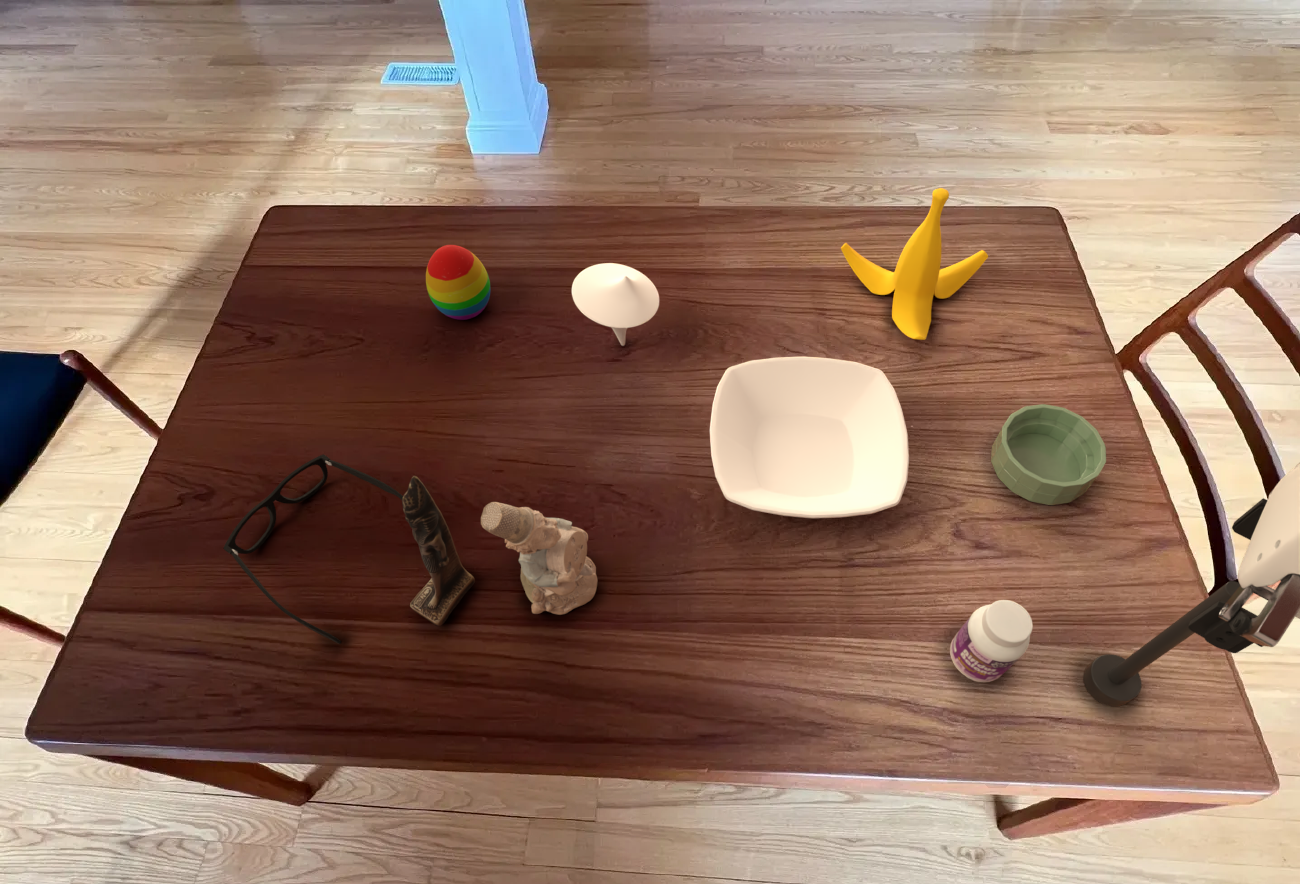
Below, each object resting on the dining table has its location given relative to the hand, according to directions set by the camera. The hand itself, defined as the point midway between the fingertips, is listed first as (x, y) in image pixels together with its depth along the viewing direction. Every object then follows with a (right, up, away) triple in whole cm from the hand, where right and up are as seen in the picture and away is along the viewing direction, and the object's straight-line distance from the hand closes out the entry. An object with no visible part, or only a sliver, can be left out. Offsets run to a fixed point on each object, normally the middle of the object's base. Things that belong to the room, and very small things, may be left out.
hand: (1232, 586), depth 57 cm
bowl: (-25, +9, +34) cm, 43 cm away
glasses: (-77, -2, +31) cm, 83 cm away
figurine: (-52, -5, +27) cm, 59 cm away
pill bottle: (-10, -11, +20) cm, 25 cm away
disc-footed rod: (+1, -13, +18) cm, 22 cm away
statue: (-64, -6, +27) cm, 70 cm away
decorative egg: (-68, +29, +51) cm, 90 cm away
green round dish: (+2, +8, +32) cm, 33 cm away
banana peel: (-8, +28, +46) cm, 55 cm away
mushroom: (-46, +23, +45) cm, 69 cm away
